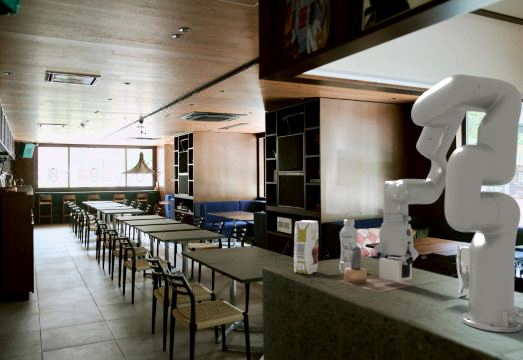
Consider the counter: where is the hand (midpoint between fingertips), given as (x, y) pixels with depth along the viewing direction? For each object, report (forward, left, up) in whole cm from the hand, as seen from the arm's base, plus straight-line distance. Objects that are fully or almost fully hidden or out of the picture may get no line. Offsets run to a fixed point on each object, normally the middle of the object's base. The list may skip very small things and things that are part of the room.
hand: (395, 275), depth 136 cm
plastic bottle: (+24, -4, -5) cm, 24 cm away
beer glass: (-18, -10, -5) cm, 22 cm away
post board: (+5, +4, -4) cm, 7 cm away
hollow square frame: (0, 0, -1) cm, 1 cm away
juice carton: (+35, +7, -5) cm, 36 cm away
